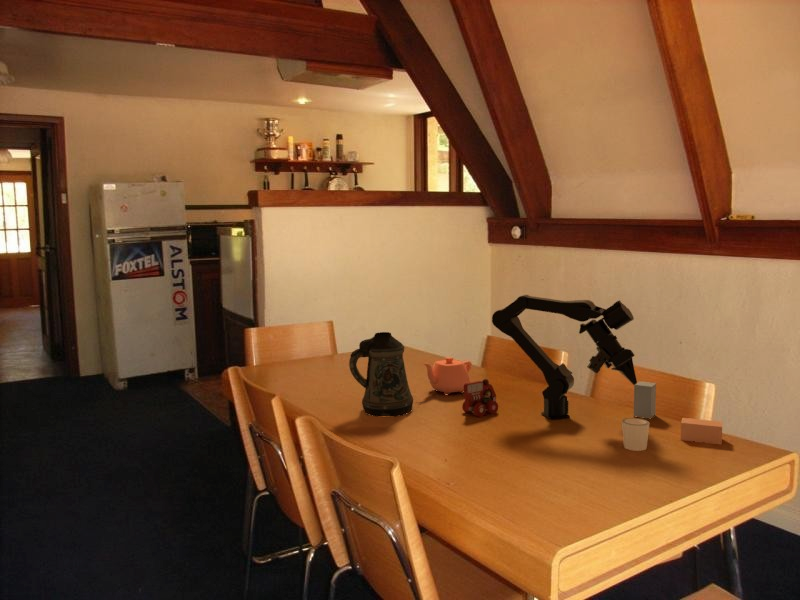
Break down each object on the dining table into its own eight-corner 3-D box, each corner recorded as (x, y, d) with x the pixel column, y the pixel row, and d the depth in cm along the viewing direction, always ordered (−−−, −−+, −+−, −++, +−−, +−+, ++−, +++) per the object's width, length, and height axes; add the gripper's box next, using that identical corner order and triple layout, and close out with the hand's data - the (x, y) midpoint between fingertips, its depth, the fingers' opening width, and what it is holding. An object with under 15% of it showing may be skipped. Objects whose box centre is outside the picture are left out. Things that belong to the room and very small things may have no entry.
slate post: (633, 417, 205) (634, 384, 204) (638, 413, 209) (639, 381, 208) (650, 419, 202) (651, 386, 201) (655, 415, 206) (656, 383, 205)
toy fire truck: (502, 411, 213) (502, 379, 212) (472, 419, 206) (472, 385, 205) (488, 407, 219) (487, 375, 218) (458, 413, 212) (457, 381, 211)
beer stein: (424, 408, 218) (422, 332, 215) (381, 422, 204) (379, 340, 201) (387, 400, 230) (385, 327, 227) (344, 413, 216) (342, 335, 213)
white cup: (648, 444, 181) (649, 418, 180) (649, 452, 174) (649, 426, 173) (621, 441, 183) (622, 416, 182) (621, 450, 176) (621, 424, 175)
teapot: (413, 391, 241) (413, 357, 239) (461, 384, 250) (460, 351, 248) (433, 400, 229) (432, 364, 227) (482, 391, 238) (482, 357, 237)
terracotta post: (681, 422, 183) (722, 426, 178) (682, 417, 187) (722, 421, 183) (680, 440, 183) (721, 445, 179) (681, 435, 188) (721, 439, 184)
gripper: (577, 354, 207) (606, 398, 204) (583, 351, 189) (616, 400, 186) (608, 334, 207) (638, 378, 204) (617, 330, 188) (651, 378, 185)
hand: (635, 384), depth 195 cm, fingers closed
